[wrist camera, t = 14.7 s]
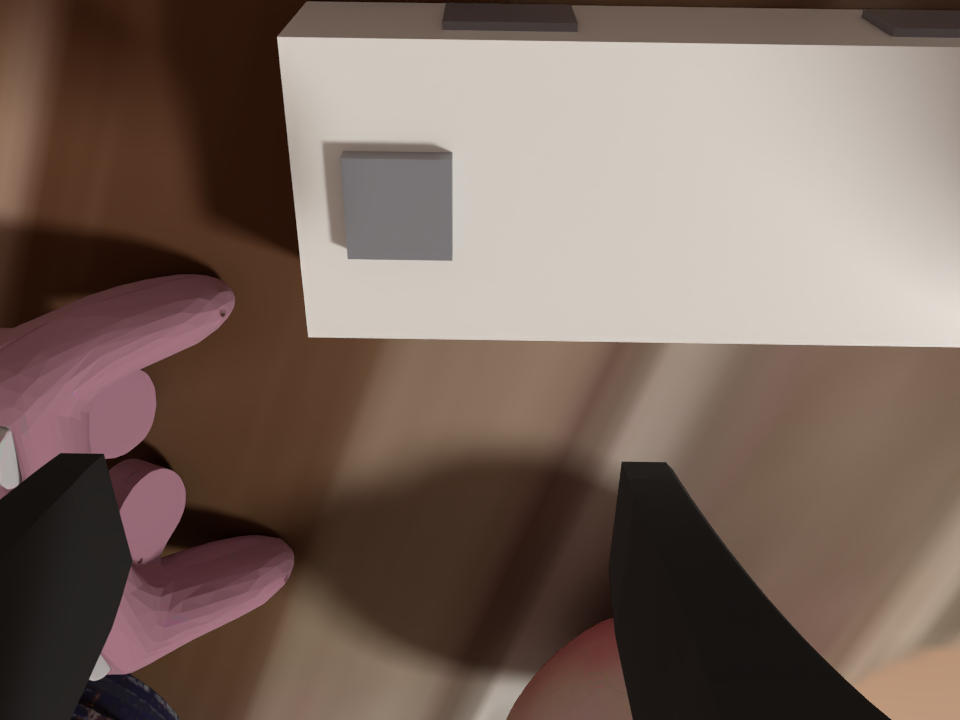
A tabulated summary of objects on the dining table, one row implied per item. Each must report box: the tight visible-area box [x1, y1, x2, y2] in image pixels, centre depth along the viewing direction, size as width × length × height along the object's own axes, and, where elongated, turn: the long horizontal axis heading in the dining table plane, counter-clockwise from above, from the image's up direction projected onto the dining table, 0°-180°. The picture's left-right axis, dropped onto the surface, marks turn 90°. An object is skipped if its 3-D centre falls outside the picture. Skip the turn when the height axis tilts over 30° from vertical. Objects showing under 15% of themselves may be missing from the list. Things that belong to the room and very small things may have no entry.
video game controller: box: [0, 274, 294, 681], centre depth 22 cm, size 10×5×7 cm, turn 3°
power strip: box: [277, 1, 960, 347], centre depth 18 cm, size 16×6×3 cm, turn 89°
